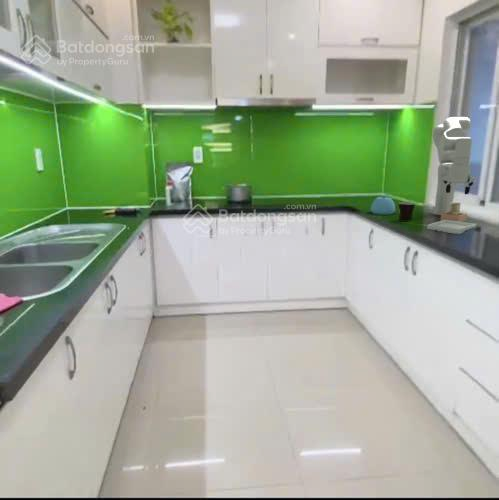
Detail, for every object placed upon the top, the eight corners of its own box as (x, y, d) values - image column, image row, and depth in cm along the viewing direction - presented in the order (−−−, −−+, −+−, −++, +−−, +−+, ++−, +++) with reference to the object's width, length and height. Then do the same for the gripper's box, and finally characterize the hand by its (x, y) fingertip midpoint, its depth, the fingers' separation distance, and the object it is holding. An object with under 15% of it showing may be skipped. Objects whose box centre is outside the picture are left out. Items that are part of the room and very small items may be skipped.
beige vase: (446, 220, 215) (448, 202, 213) (450, 219, 218) (452, 202, 216) (455, 222, 212) (458, 204, 209) (459, 220, 215) (462, 203, 212)
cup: (440, 222, 216) (441, 213, 215) (448, 220, 222) (449, 211, 220) (457, 225, 209) (459, 216, 207) (465, 222, 214) (466, 213, 213)
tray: (427, 229, 200) (427, 224, 199) (445, 224, 212) (445, 219, 211) (458, 234, 188) (458, 229, 187) (475, 228, 200) (476, 224, 199)
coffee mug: (400, 218, 228) (401, 201, 225) (415, 220, 222) (417, 203, 220) (393, 221, 219) (394, 204, 216) (408, 223, 214) (410, 205, 211)
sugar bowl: (397, 212, 249) (398, 194, 246) (392, 216, 236) (394, 197, 233) (373, 210, 256) (374, 193, 253) (367, 214, 244) (369, 195, 241)
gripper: (441, 161, 210) (438, 192, 215) (475, 161, 197) (470, 195, 201) (448, 161, 215) (444, 191, 219) (481, 161, 202) (476, 194, 206)
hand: (457, 193), depth 210 cm, fingers open, 9 cm apart
